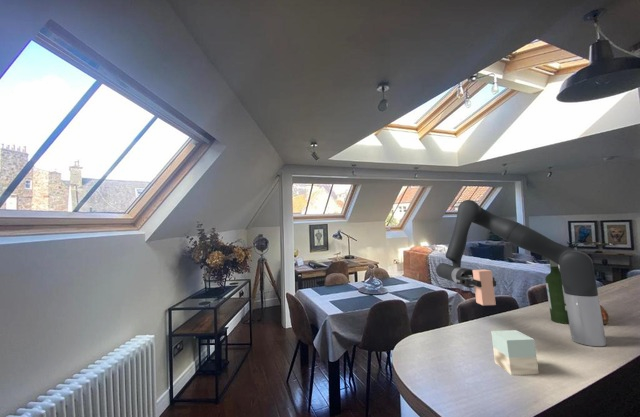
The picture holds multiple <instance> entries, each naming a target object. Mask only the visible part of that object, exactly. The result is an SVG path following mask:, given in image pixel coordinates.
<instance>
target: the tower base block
mask: <svg viewBox="0 0 640 417" xmlns="http://www.w3.org/2000/svg"><path fill="white" fill-rule="evenodd" d="M492 348H493V357H494V364H496V365H497V366H499V367H500V368H501V369H503V370H504V372H507V373H508V374H509V375H510V376H519V375H521V376H522V375H523V376H525V375H539V374H540V373H539V372H540V371H539V366H538V359H537V357H519V358H508V357H507V356H506V355H504V354H503V353H501V352H500V351H498V350H497V349H495V348H494V347H493V346H492Z"/></svg>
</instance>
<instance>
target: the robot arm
mask: <svg viewBox="0 0 640 417" xmlns="http://www.w3.org/2000/svg"><path fill="white" fill-rule="evenodd" d="M472 224H475V225H478V226H480V227H483V228H485V229H486V230H488V231H490V232H491V233H493V234H494V235H496V236H498V237H499V238H501V239H503V240H504V241H506V242H508V243H510V244H512V245H514V246H516V247H519V248H521V249H523V250H525V251H528V252H531V253H535V254H538V255H540V256H543V257H544V258H547V259H548V260H549V261H550V260H552V261H553V262H555V263H557V264H558V267H559V271H560V273H561V279H562V285H563V288H564V294H565V300H566V306H567V313H568V320H569V324H568V326H569V332H570V338H571V340H572V341H573V342H575V343H578V344H581V345H585V346H588V347H589V346H590V347H591V346H592V347H605V346H607V340H606V334H605V327H604V324H603V321H602V315H601V309H600V305H601V303H600V298H599V291H598V284H597V280H596V274H595V269H594V262H593V259H592V258H591V257H590V256H589V255H588V254H587V253H585V252H583V251H581V250H579V249H574V248H572V247H570V246H566V245H564V244H561V243H558V242H556V241H554V240H552V239H551V238H549V237H547V236H546V235H544V234H542V233H540V232H538V231H537V230H535V229H532V228H531V227H528V226H527V225H524V224H522V223H520V222H518V221H515V220H512V219H509V218H506V217H503V216H499V215H496V214H494V213H492V212H490V211H488V210H487V209H484V207H481V206H480V205H479V204H478V203H477V202H476V201H475V200H472V199H466V200H463V201H461V202H460V203H459V204H458V207H457V213H456V220H455V224H454V227H453V228H454V229H453V232H452V235H451V238H450V240H449V244H448V247H447V250H446V252H445V258H446V259H447V260H449V261H451V262H452V265H450V264H447V263H444V262H440V263H439V264H437V266H436V268H435V272H436V275H437V277H440V278H441V279H442V278H443V279H444V280H448V281H450V282H454V283H455V284H456V285H459V286H463V287H465V288H468V289H472V288H475V287H474V286H477V287H482V285H481V281H478V280H474V278H473V270H474V269H470V268H466V267H461V266H462V258H463V255H464V254H465V253H464V252H465V249H466V246H467V240H468V234H469V231H470V227H471V225H472ZM492 278H493V287H494V288H495V287H497V280H495V277H493V276H492Z"/></svg>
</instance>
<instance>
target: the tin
mask: <svg viewBox="0 0 640 417" xmlns="http://www.w3.org/2000/svg"><path fill="white" fill-rule="evenodd" d="M600 309H601V315H602V321H603V325H607V324H609V321H610V317H609V313H608V311H607V309H606V308H605V307H604V306H603V305H601V304H600Z"/></svg>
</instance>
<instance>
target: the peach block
mask: <svg viewBox="0 0 640 417" xmlns="http://www.w3.org/2000/svg"><path fill="white" fill-rule="evenodd" d="M472 270H473V278H474V280H478V281H481V285H482V287H477V286H474V287H473V288H474V293H475V294H474V295H475V302H476V303H477V304H478V305H481V306H496V305H497V304H496V295H495V294H496V293H495V287H493V278H492V277H493V272H492V270H489V269H472Z"/></svg>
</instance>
